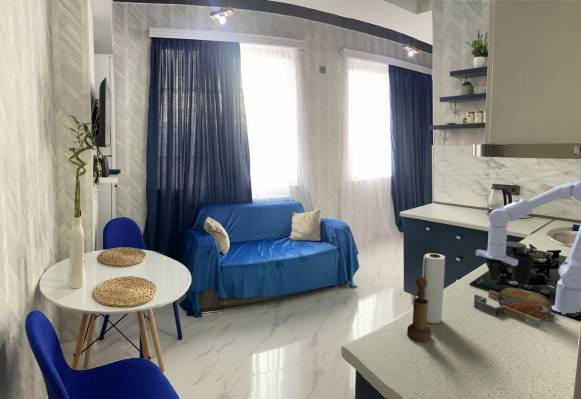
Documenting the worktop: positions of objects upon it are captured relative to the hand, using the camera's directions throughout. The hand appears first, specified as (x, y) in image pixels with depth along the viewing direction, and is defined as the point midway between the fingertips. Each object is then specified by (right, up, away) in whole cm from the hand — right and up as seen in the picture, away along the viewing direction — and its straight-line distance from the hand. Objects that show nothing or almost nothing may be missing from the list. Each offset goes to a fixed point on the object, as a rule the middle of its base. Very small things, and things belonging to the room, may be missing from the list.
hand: (494, 279), depth 137 cm
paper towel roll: (-29, -10, -15) cm, 34 cm away
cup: (+18, -5, +14) cm, 23 cm away
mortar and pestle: (-36, -12, -25) cm, 45 cm away
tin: (+3, -9, -12) cm, 15 cm away
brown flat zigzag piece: (+1, -9, -9) cm, 13 cm away
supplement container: (+23, -3, +30) cm, 38 cm away
